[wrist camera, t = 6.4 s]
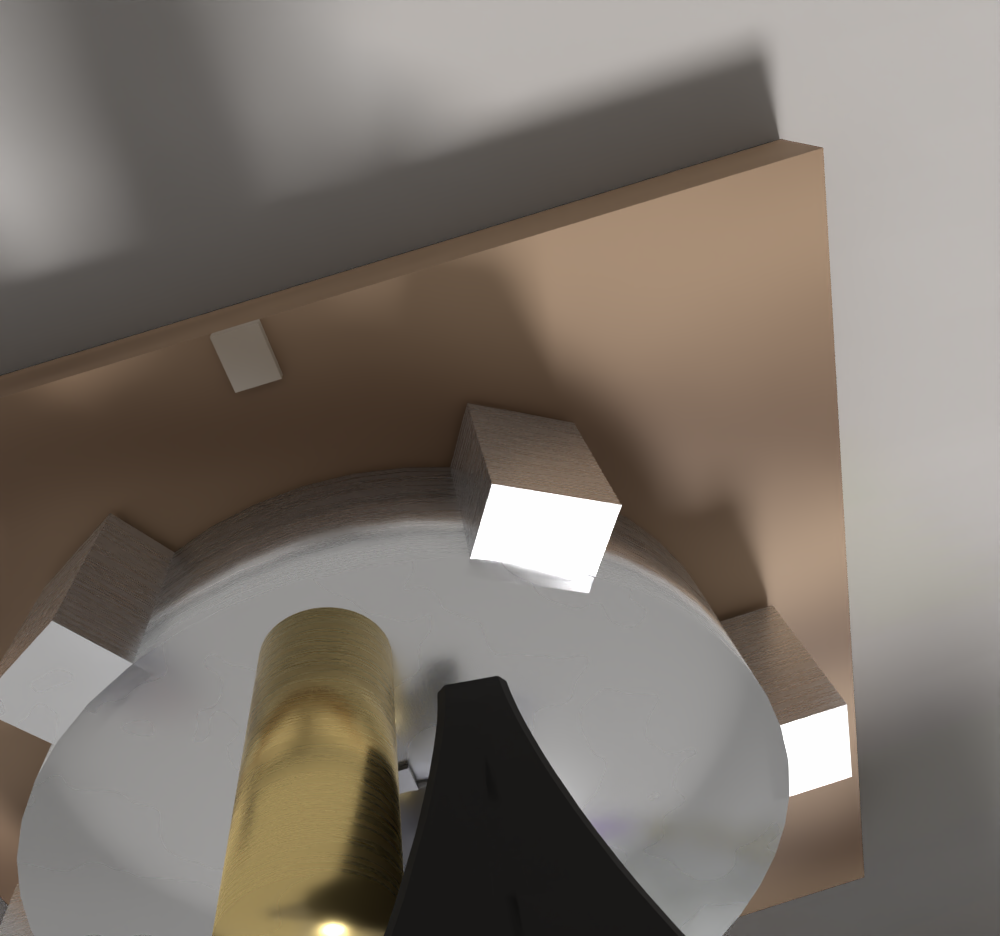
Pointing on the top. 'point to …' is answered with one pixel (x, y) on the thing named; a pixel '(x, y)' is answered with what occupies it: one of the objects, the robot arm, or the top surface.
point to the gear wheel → (393, 698)
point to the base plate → (504, 385)
